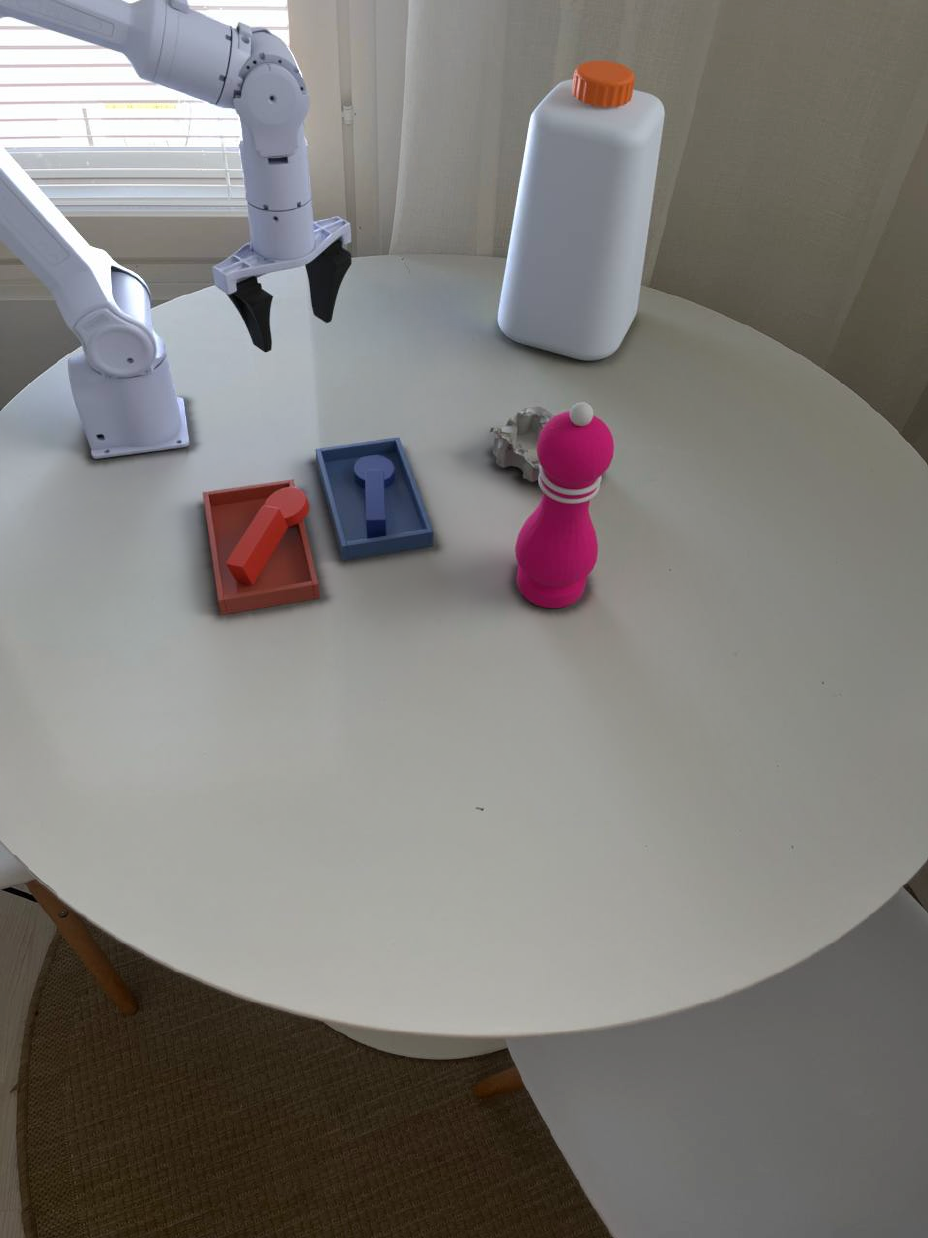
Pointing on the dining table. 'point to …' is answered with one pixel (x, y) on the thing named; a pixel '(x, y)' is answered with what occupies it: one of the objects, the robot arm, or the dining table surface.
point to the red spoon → (267, 533)
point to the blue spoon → (374, 490)
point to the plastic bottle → (582, 214)
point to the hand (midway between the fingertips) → (293, 332)
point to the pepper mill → (564, 509)
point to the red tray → (287, 566)
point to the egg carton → (521, 441)
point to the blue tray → (349, 501)
